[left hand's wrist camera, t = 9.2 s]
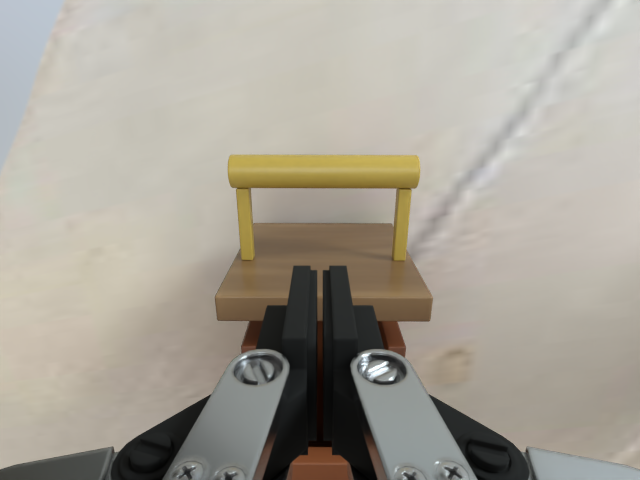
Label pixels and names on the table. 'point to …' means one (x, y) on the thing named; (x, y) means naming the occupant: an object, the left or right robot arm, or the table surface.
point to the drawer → (324, 248)
